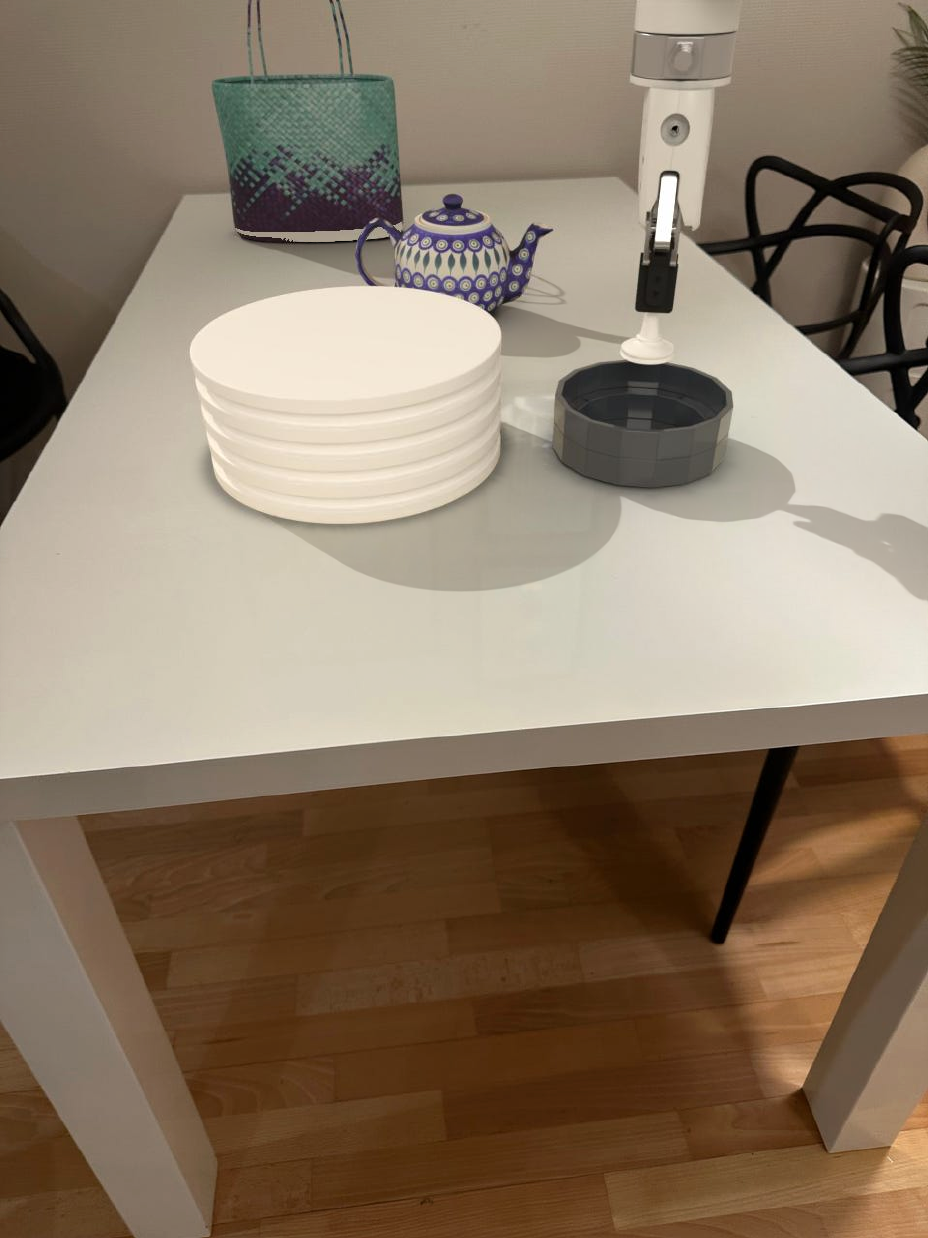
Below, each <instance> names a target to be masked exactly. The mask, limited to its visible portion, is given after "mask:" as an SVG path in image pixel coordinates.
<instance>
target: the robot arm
mask: <svg viewBox="0 0 928 1238" xmlns="http://www.w3.org/2000/svg"><path fill="white" fill-rule="evenodd" d="M742 6H743V0H636V4H635V16H634V25H633V28H634V29H633V30H634V31H633V38H632V39H633V40H632V49H631V50H632V51H631V63H630V76H629V83H630V84H633V85H635V86H638V87H644V95H643V98H644V99H643V107H642V117H641V128H640V129H641V131H640V143H639V156H638V157H639V159H638V180H637V181H638V183H637V197H638V198H637V208H638V210H637V211H638V213H637V214H638V215H637V216H638V217H637V218H638V225H639V226H640V227H641V228H642V229H643V230H644V231H645V237H644V247H643V252H640V256H639V265H638V274H637V283H636V285H637V286H636V294H635V303H634V310H635V311H636V313H637V312H638V313H645V312H648V313H659V314H670V313H672V312H673V309H674V304H675V303H674V302H675V295H676V286H677V280H678V272H679V263H678V262H679V261H678V260H679V253H678V250H679V242H680V236H681V235H680V234H681V231H682V229H681V228H682V221H683V226H684V227H690V231H691V232H694V231H696V230H698V228H700V226H701V216H702V208H703V201H704V193H705V185H706V177H707V171H708V162H709V155H710V149H711V139H712V130H713V123H714V111H715V101H716V100H715V95H716V88H720V87H725V86H728V85H730V84H731V81H732V74H733V69H734V59H735V53H736V46H737V39H738V34H739V33H738V30H739V25H740V19H741V12H742ZM649 260H650V261H649Z"/></svg>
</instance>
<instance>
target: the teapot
mask: <svg viewBox="0 0 928 1238" xmlns="http://www.w3.org/2000/svg"><path fill="white" fill-rule="evenodd" d="M463 203H464V198H463V197H462V196H461V195H459V194H458V193H457V194H456V193H449V194H447V195H445V196H444V197H442V204H443V205H444V206H443V207H438V208H433V209H430V210H429V209H428V210H426V211H424V212H423V213H420V214H417V215H416V216H415V217H414V223H413V224H412V225H410V226H409V227H408V228H406V229H405V231H401V232H400V231H399V230H397V229H396V228H395V227H394V226H393V225H392V224H390V223H389V222H388V221H386V220H385V219H382V218H375V219H374V220H372V221H371V222H369V223H368V224H367V225H366V227H365V228H364V229H363V231H362V232H361V234H360V236H359V238H358V241H356V245H355V246H356V247H355V253H354V255H355V262H356V267H357V270H358V273H359V274H360V276H361V279H363V281H364V282H365V283H366V284H367V286H386V287H401V288H411V289H419V290H426V291H431V292H436V293H441V294H445V295H449V296H453V297H456V298H459V299H462V300H465V301H467V302H470V303H472V304H474V305H476V306H478V307H480V308H481V309H483V310H485V311H486V312H487V313H489V314H490V315H491V313H494V312H495V311H497V310H498V309H500V307H501V306H502V305H505V304H508V303H512V302H514V301H516V300H518V299H519V298H521V296H522V295H523V294H524V292H525V291H526V289H527V287H528V285H529V284H530V283H529V282H530V280H531V276H532V271H533V267H534V266H533V265H534V261H535V255H536V252H537V248H538V245H539V242H540V239H542V238H543V237H545V236H547V235H548V234H550V233H551V232H553V231H554V229H553V227H551V226H550V225H548V224H545V223H542V222H533V223H531V224H530V225H529V226H528V227H527V229H526V230H525V232H524V234H523V236H522V238H521V240H520V243H519V244H518V246H516V247H515V248H514V249H513V250H511V248H510V247H509V244H508V242H507V240H506V238H505V237H504V235H503V234H502V232H501V231H500V230H498V229H497V228H496V227H495V226H494V224H493V223H492V218H491V216H489V215H488V214H487V213H485V212H483V211H480V210H475V209H470V208H465V207H462V205H463ZM377 227H382V228H383V229H385V230H386V231H387V233H388V234H389V237H388V238H389V239H390V243H391V246H392V248H393V250H394V267H393V268H394V277H395V282H394V283H393V284H385V283H382V282H379V281H377V280H376V279H375V278H374V277H373V276H372V275H371V274H370V273H369V272H368V270H367V269H366V266H365V264H364V258H363V249H364V246H365V243H366V242H367V241H366V239H367V237H368V236H369V234H370V233H371V232H372V231H373V230H374V229H375V228H377Z"/></svg>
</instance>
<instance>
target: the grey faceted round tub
mask: <svg viewBox="0 0 928 1238" xmlns="http://www.w3.org/2000/svg"><path fill="white" fill-rule="evenodd" d="M553 407H554V411H553V428H552V429H553V430H552V448H553V450H554V451H555V453H556V455H557V456H558V458H559V459H560V462H561V463H563V464H564V465H566V466H567V467H569V468H571V469H572V470H574V471H576V472H577V473H579V474H580V475H582V476H584V477H587V478H592V479H594V480H598V481H601V482H605V483H609V484H611V485H612V484H613V485H617V486H627V487H637V488H638V487H639V488H651V489H652V488H660V487H661V488H662V487H669V486H678V485H685V484H688V483H692V482H693V481H696V480H698V479H701V478H704V477H706V476H709V475H711V474H712V473H713V472H714V471H715V470H716V469H717V467H718V466H719V465H720V464H721V463H722V462H723V461H724V460H725V455H726V449H727V444H728V439H729V432H730V428H731V427H730V426H731V423H732V418H733V417H732V416H733V410H734V399H733V392H732V390H731V389H729V387H727V385H725V384H724V383H723V382H722V381H721V380H720V379H719V378H718V377H717V376H713V375H711V374H709V373H706V372H704V371H702V370H699V369H698V368H695V367H692V366H688V365H683V364H678V363H673V362H670V361H669V362H666V363H662V364H653V365H647V364H638V363H633V362H630V361H628V360H625V359H617V360H607V361H597V362H595V363H591V364H589V365H586V366H582V367H578V368H575V369H573V370H572V371H571V372H569V373H568V374H566V375H565V376H564V377H562V378H561V379H559V380H558V383H557V386H556V390H555V394H554V406H553Z"/></svg>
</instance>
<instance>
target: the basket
mask: <svg viewBox="0 0 928 1238" xmlns="http://www.w3.org/2000/svg"><path fill="white" fill-rule="evenodd" d="M252 1H253V0H248V1H247V31H246V33H247V35H246V37H247V38H246V40H247V42H246V43H247V57H248V65H249V75H241V76H230V77H222V78H216V79H213V80H212V82H211V91H212V97H213V103H214V107H215V112H216V117H217V121H218V126H219V131H220V135H221V140H222V145H223V150H224V155H225V160H226V167H227V174H228V182H229V183H228V184H229V190H230V191H229V192H230V202H231V210H232V219H233V220H232V221H233V227H234V229H235V228H237V229H240V230H243V231H250V232H315V231H340V230H354V229H364V228H365V227H366V225H367V224H368V223H369V222H371V221H372V220H374V219H375V218H382V219H385V220H386V221H388V222H389V223H390V224H392V225H396V224H398V223H400V222H402V221H403V222H404V210H403V197H402V183H401V182H402V181H401V169H400V152H399V151H400V150H399V135H398V119H397V117H398V116H397V105H396V104H397V103H396V91H395V83H394V79H393V78H392V77H391V76H387V75H383V74H381V75H380V74H371V73H354V69H353V62H352V52H351V46H350V45H351V43H350V38H349V33H348V29H347V25H346V20H345V17H344V13H343V7H342V6H341V5H342V4H341V1H340V0H335V2H336V4H337V8H338V11H339V15H340V19H341V23H342V28H343V33H344V36H345V37H344V38H345V43H346V50H347V57H348V59H347V60H348V66H349V73H345V71H344V60H343V59H344V58H343V47H342V39H341V33H340V30H339V29H340V28H339V24H338V19H337V12H336V8H335V3H334V0H328V1H329V4H330V6H331V7H330V8H331V12H332V17H333V22H334V28H335V33H336V38H337V44H338V55H339V66H340V67H339V68H340V73H299V74H298V73H296V74H295V73H294V74H268V71H267V66H266V60H265V59H266V58H265V52H264V46H263V40H262V25H261V22H262V21H261V5H260V3H261V0H256V17H257V35H258V36H257V38H258V43H259V49H260V56H261V57H260V58H261V62H262V68H263V74H262V75H261V74H260V75H259V74H258V75H254V67H253V59H252V57H253V56H252V48H251V27H252V26H251V25H252V24H251V23H252V22H251V20H252V19H251V18H252V15H251V12H252V10H251V9H252V8H251V7H252ZM236 233H237V234H238V235H239V236H240V237H242V238H245V239H248V240H254V241H257V242H265V241H266V242H265V243H282V242H290V241H289V239H288V240H287V241H286V240H285V239H286V238H284V239H283V240H282V239H281V238H272V237H256V236H249V235H244V234H241V233H239V232H237V231H236ZM291 242H293V240H292V241H291Z"/></svg>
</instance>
